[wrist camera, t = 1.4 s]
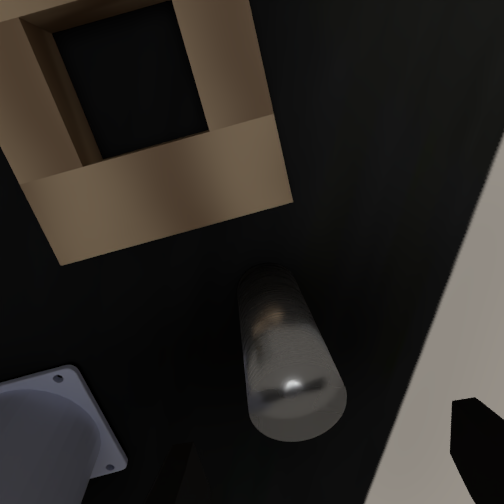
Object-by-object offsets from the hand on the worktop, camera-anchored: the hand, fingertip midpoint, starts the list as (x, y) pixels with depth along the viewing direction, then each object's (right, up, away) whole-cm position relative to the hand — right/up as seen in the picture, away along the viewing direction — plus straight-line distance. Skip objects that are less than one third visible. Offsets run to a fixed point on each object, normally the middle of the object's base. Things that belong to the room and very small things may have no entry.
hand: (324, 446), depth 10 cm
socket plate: (-7, +12, +5) cm, 15 cm away
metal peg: (-1, +3, +9) cm, 10 cm away
